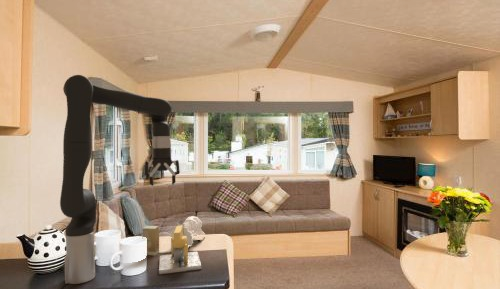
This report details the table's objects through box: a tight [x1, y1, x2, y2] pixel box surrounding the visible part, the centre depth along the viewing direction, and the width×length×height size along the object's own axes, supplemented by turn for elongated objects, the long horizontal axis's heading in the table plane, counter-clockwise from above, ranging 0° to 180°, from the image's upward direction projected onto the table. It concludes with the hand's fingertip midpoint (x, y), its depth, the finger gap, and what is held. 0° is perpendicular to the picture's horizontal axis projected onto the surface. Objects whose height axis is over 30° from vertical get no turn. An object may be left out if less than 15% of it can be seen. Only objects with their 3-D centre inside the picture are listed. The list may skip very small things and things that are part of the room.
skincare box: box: [142, 225, 160, 256], centre depth 140 cm, size 6×4×12 cm
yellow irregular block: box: [170, 223, 187, 248], centre depth 128 cm, size 12×6×7 cm, turn 6°
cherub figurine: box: [169, 215, 206, 247], centre depth 155 cm, size 13×12×20 cm
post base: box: [158, 244, 202, 275], centre depth 128 cm, size 16×16×10 cm
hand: (162, 184), depth 133 cm, fingers open, 8 cm apart
